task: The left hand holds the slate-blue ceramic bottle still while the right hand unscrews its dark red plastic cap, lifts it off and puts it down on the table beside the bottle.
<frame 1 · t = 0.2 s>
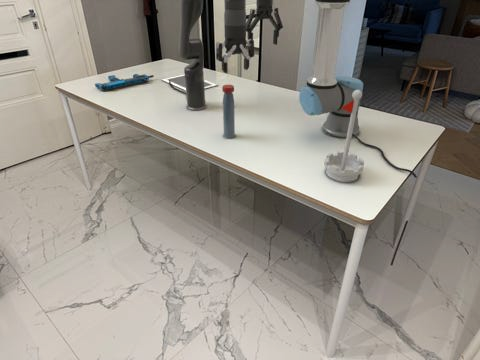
left hand: (235, 70, 125), 29 cm above the table, tool pointing down, fingers open, 8 cm apart
right hand: (263, 45, 167), 28 cm above the table, tool pointing down, fingers open, 13 cm apart
flag stand: (341, 173, 120), on the table
cap: (228, 87, 134), point 21 cm above the table, screwed on, not yet turned
bottle: (229, 136, 146), on the table
tablet: (189, 83, 208), on the table
submachine gun: (124, 82, 209), on the table
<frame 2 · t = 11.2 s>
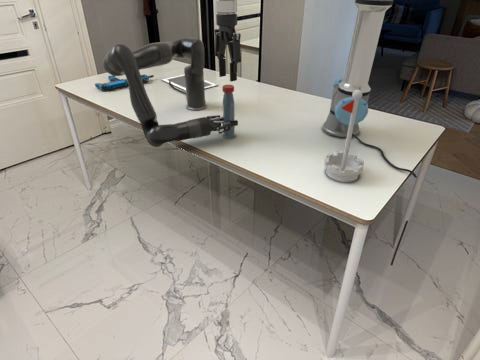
left hand: (234, 120, 143), 7 cm above the table, tool horizontal, fingers closed on bottle, 4 cm apart
right hand: (228, 78, 132), 25 cm above the table, tool pointing down, fingers open, 7 cm apart
bottle: (229, 136, 146), on the table, touching left hand
everything else where it was.
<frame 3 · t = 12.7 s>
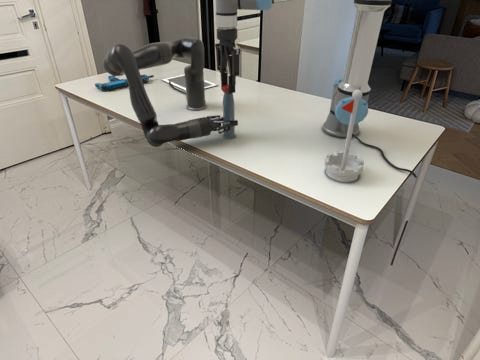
left hand: (234, 120, 143), 7 cm above the table, tool horizontal, fingers closed on bottle, 4 cm apart
right hand: (228, 91, 135), 20 cm above the table, tool pointing down, fingers closed on cap, 4 cm apart
cap: (228, 87, 134), point 21 cm above the table, screwed on, not yet turned, touching right hand
bottle: (229, 136, 146), on the table, touching left hand
everything else where it was.
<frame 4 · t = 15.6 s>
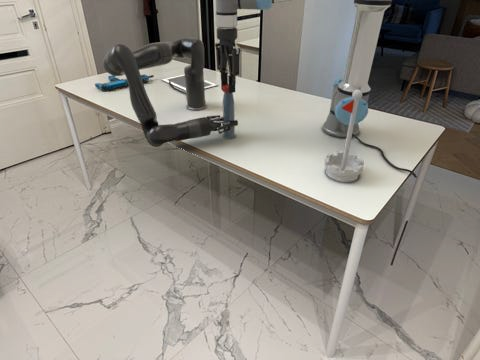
left hand: (234, 120, 143), 7 cm above the table, tool horizontal, fingers closed on bottle, 4 cm apart
right hand: (228, 90, 135), 20 cm above the table, tool pointing down, fingers closed on cap, 4 cm apart
cap: (228, 86, 134), point 21 cm above the table, turned 96° so far, risen 0.1 cm, still on its thread, touching right hand
bottle: (229, 136, 146), on the table, touching left hand
everything else where it was.
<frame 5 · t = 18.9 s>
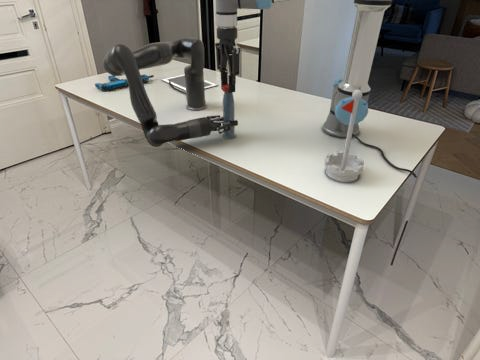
left hand: (234, 120, 143), 7 cm above the table, tool horizontal, fingers closed on bottle, 4 cm apart
right hand: (228, 90, 135), 20 cm above the table, tool pointing down, fingers closed on cap, 4 cm apart
cap: (228, 86, 134), point 22 cm above the table, turned 192° so far, risen 0.2 cm, still on its thread, touching right hand
bottle: (229, 136, 146), on the table, touching left hand
everything else where it was.
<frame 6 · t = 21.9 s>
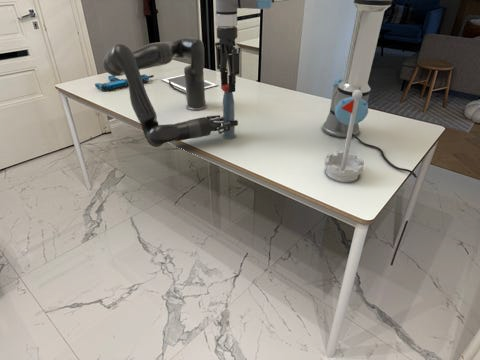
left hand: (234, 120, 143), 7 cm above the table, tool horizontal, fingers closed on bottle, 4 cm apart
right hand: (228, 90, 135), 20 cm above the table, tool pointing down, fingers closed on cap, 4 cm apart
cap: (228, 86, 134), point 22 cm above the table, turned 287° so far, risen 0.4 cm, still on its thread, touching right hand
bottle: (229, 136, 146), on the table, touching left hand
everything else where it was.
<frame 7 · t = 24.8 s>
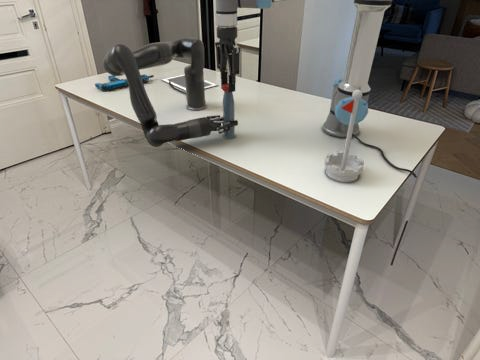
left hand: (234, 120, 143), 7 cm above the table, tool horizontal, fingers closed on bottle, 4 cm apart
right hand: (228, 89, 135), 20 cm above the table, tool pointing down, fingers closed on cap, 4 cm apart
cap: (228, 85, 134), point 22 cm above the table, turned 383° so far, risen 0.5 cm, still on its thread, touching right hand
bottle: (229, 136, 146), on the table, touching left hand
everything else where it was.
when the right hand's fingers open (1 cm above the table, at t = 31.2 s): cap drops 1 cm, point 2 cm above the table.
when the left hand's fingers open (7 cm above the table, at t = 32.4 s): bottle stays where it is, on the table.
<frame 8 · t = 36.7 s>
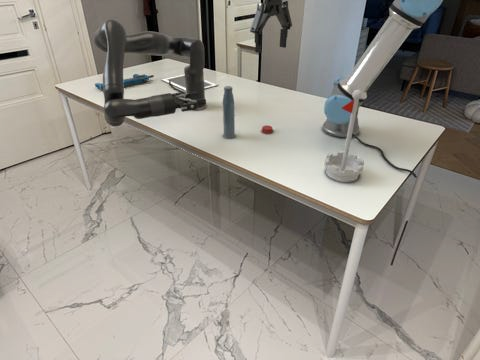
left hand: (201, 98, 131), 19 cm above the table, tool horizontal, fingers open, 8 cm apart
right hand: (271, 49, 131), 34 cm above the table, tool pointing down, fingers open, 13 cm apart
cap: (267, 128, 149), point 2 cm above the table, off its thread
bottle: (229, 136, 146), on the table
everything else where it was.
at the end: cap came off its thread; cap point 1.6 cm above the table; the left hand is holding nothing; the right hand is holding nothing; bottle tilted 0°; bottle moved 0.0 cm from its start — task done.
